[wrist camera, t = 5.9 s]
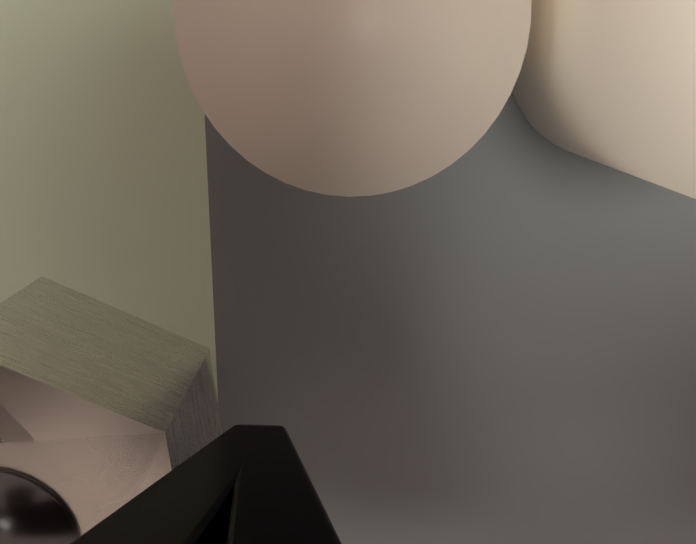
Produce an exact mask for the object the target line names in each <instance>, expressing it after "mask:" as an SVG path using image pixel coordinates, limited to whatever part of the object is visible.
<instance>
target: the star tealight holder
mask: <svg viewBox="0 0 696 544" xmlns="http://www.w3.org/2000/svg"><path fill="white" fill-rule="evenodd" d="M222 433H223V432H222V426H221V420H220V413H219V407H218V401H217V394H216V388H215V381H214V375H213V369H212V362H211V356H210V350H209V348H208V347H206V346H203V345H201V344H199V343H196V342H194V341H192V340H189V339H187V338H185V337H182V336H180V335H178V334H175V333H173V332H171V331H168V330H166V329H164V328H161V327H159V326H157V325H154V324H152V323H150V322H147V321H145V320H143V319H140V318H138V317H136V316H133V315H131V314H129V313H126V312H124V311H122V310H119V309H117V308H115V307H112V306H110V305H108V304H105V303H103V302H101V301H98V300H96V299H94V298H91V297H89V296H87V295H84V294H82V293H80V292H77V291H75V290H73V289H70V288H68V287H66V286H63V285H61V284H59V283H56V282H54V281H52V280H49V279H47V278H45V277H42V276H41V277H40V278H38V279H36V280H35V281H33V282H32V283H30V284H29V285H27V286H26V287H24V288H23V289H21V290H20V291H18V292H17V293H15V294H14V295H12V296H11V297H9V298H8V299H6V300H4V301H3V302H1V303H0V544H70V543H72V542H73V541H74V540H76V539H77V538H79V537H80V536H81V535H83V534H84V533H86V532H87V531H88V530H90V529H91V528H92V527H94V526H95V525H97V524H98V523H99V522H101V521H102V520H104V519H105V518H106V517H108V516H109V515H110V514H112V513H113V512H115V511H116V510H117V509H119V508H120V507H122V506H123V505H124V504H126V503H127V502H128V501H130V500H131V499H133V498H134V497H135V496H137V495H138V494H139V493H141V492H142V491H144V490H145V489H146V488H148V487H149V486H151V485H152V484H153V483H155V482H156V481H157V480H159V479H160V478H162V477H163V476H164V475H166V474H167V473H169V472H170V471H171V470H173V469H174V468H175V467H177V466H178V465H180V464H181V463H182V462H184V461H185V460H187V459H188V458H189V457H191V456H192V455H193V454H195V453H196V452H198V451H199V450H200V449H202V448H203V447H204V446H206V445H207V444H209V443H210V442H211V441H213V440H214V439H216V438H217V437H218V436H220V435H221V434H222Z"/></svg>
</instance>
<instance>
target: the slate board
mask: <svg viewBox="0 0 696 544" xmlns="http://www.w3.org/2000/svg"><path fill="white" fill-rule="evenodd" d="M41 276H42V277H45V278H47V279H49V280H52V281H54V282H56V283H59V284H61V285H63V286H66V287H68V288H70V289H73V290H75V291H77V292H80V293H82V294H84V295H87V296H89V297H91V298H94V299H96V300H98V301H101V302H103V303H105V304H108V305H110V306H112V307H115V308H117V309H119V310H122V311H124V312H126V313H129V314H131V315H133V316H136V317H138V318H140V319H143V320H145V321H147V322H150V323H152V324H154V325H157V326H159V327H161V328H164V329H166V330H168V331H171V332H173V333H175V334H178V335H180V336H182V337H185V338H187V339H189V340H192V341H194V342H196V343H199V344H201V345H203V346H206V347H208V348H209V350H210V356H211V362H212V369H213V375H214V381H215V388H216V394H217V401H218V407H219V413H220V420H221V426H222V432H223V433H224V432H225V431H227V430H228V429H229V428H231V427H232V426H234V425H237V424H246V425H281V426H283V427H285V429H286V430H287V432H288V434H289V436H290V438H291V440H292V442H293V445H294V447H295V449H296V451H297V453H298V455H299V457H300V459H301V461H302V463H303V465H304V467H305V469H306V471H307V473H308V475H309V477H310V479H311V482H312V484H313V486H314V488H315V490H316V492H317V494H318V496H319V498H320V500H321V502H322V504H323V506H324V508H325V510H326V512H327V514H328V516H329V519H330V521H331V523H332V525H333V527H334V529H335V531H336V533H337V535H338V537H339V539H340V541H341V543H342V544H696V199H695V198H691V197H689V196H686V195H683V194H681V193H678V192H675V191H673V190H670V189H667V188H665V187H662V186H659V185H657V184H654V183H651V182H649V181H646V180H643V179H641V178H638V177H635V176H633V175H630V174H627V173H625V172H622V171H619V170H617V169H614V168H611V167H609V166H606V165H603V164H601V163H598V162H596V161H593V160H590V159H588V158H585V157H582V156H580V155H577V154H574V153H572V152H569V151H566V150H564V149H562V148H560V147H558V146H556V145H554V144H553V143H551V142H550V141H548V140H547V139H546V138H544V137H543V136H542V135H540V134H539V133H538V132H537V131H536V130H535V129H534V128H533V127H532V126H531V125H530V123H529V122H528V121H527V119H526V118H525V117H524V115H523V114H522V112H521V110H520V109H519V107H518V105H517V103H516V101H515V99H514V96H513V94H512V92H511V95H510V96H509V98H508V100H507V102H506V103H505V105H504V107H503V109H502V110H501V112H500V114H499V115H498V117H497V118H496V119H495V121H494V122H493V123H492V125H491V126H490V127H489V129H488V130H487V132H486V133H485V134H484V135H483V136H482V137H481V138H480V139H479V140H478V141H477V142H476V143H475V145H474V146H473V147H472V148H471V149H470V150H469V151H467V152H466V153H465V154H464V155H463V156H461V157H460V158H459V159H458V160H456V161H455V162H454V163H453V164H451V165H450V166H448V167H447V168H445V169H444V170H442V171H440V172H439V173H437V174H435V175H434V176H432V177H430V178H428V179H426V180H424V181H421V182H419V183H417V184H415V185H413V186H410V187H406V188H403V189H400V190H397V191H394V192H389V193H384V194H378V195H372V196H357V197H344V196H333V195H325V194H320V193H315V192H311V191H306V190H303V189H300V188H298V187H295V186H292V185H289V184H286V183H284V182H282V181H280V180H278V179H276V178H274V177H272V176H270V175H268V174H266V173H265V172H263V171H262V170H260V169H259V168H257V167H256V166H254V165H253V164H252V163H250V162H249V161H247V160H246V159H245V158H244V157H243V156H241V155H240V154H239V153H238V152H237V151H236V150H235V149H234V148H232V147H231V146H230V145H229V144H228V143H227V141H226V140H225V139H224V138H223V137H222V136H221V135H220V134H219V132H218V131H217V130H216V129H215V128H214V126H213V125H212V123H211V122H210V120H209V119H208V118H207V116H206V115H205V113H204V112H203V110H202V109H201V107H200V105H199V103H198V101H197V99H196V97H195V95H194V93H193V91H192V90H191V87H190V85H189V82H188V79H187V77H186V74H185V72H184V69H183V66H182V63H181V58H180V54H179V50H178V46H177V42H176V34H175V26H174V18H173V0H0V303H1V302H3V301H4V300H6V299H8V298H9V297H11V296H12V295H14V294H15V293H17V292H18V291H20V290H21V289H23V288H24V287H26V286H27V285H29V284H30V283H32V282H33V281H35V280H36V279H38V278H40V277H41Z"/></svg>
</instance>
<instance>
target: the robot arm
mask: <svg viewBox="0 0 696 544" xmlns="http://www.w3.org/2000/svg"><path fill="white" fill-rule="evenodd" d="M70 544H342V543H341V541H340V539H339V537H338V535H337V533H336V531H335V529H334V527H333V525H332V523H331V521H330V519H329V516H328V514H327V512H326V510H325V508H324V506H323V504H322V502H321V500H320V498H319V496H318V494H317V492H316V490H315V488H314V486H313V484H312V482H311V479H310V477H309V475H308V473H307V471H306V469H305V467H304V465H303V463H302V461H301V459H300V457H299V455H298V453H297V451H296V449H295V447H294V445H293V442H292V440H291V438H290V436H289V434H288V432H287V430H286V429H285V427H283V426H281V425H246V424H237V425H234V426H232V427H231V428H229V429H228V430H227V431H225V432H224V433H222V434H221V435H220V436H218V437H217V438H216V439H214V440H213V441H211V442H210V443H209V444H207V445H206V446H204V447H203V448H202V449H200V450H199V451H198V452H196V453H195V454H193V455H192V456H191V457H189V458H188V459H187V460H185V461H184V462H182V463H181V464H180V465H178V466H177V467H175V468H174V469H173V470H171V471H170V472H169V473H167V474H166V475H164V476H163V477H162V478H160V479H159V480H157V481H156V482H155V483H153V484H152V485H151V486H149V487H148V488H146V489H145V490H144V491H142V492H141V493H139V494H138V495H137V496H135V497H134V498H133V499H131V500H130V501H128V502H127V503H126V504H124V505H123V506H122V507H120V508H119V509H117V510H116V511H115V512H113V513H112V514H110V515H109V516H108V517H106V518H105V519H104V520H102V521H101V522H99V523H98V524H97V525H95V526H94V527H92V528H91V529H90V530H88V531H87V532H86V533H84V534H83V535H81V536H80V537H79V538H77V539H76V540H74V541H73V542H72V543H70Z"/></svg>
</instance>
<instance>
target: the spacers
mask: <svg viewBox="0 0 696 544" xmlns="http://www.w3.org/2000/svg"><path fill="white" fill-rule="evenodd" d="M173 18H174V26H175V34H176V42H177V46H178V50H179V54H180V58H181V63H182V66H183V69H184V72H185V74H186V77H187V79H188V82H189V85H190V87H191V90H192V91H193V93H194V95H195V97H196V99H197V101H198V103H199V105H200V107H201V109H202V110H203V112H204V113H205V115H206V116H207V118H208V119H209V120H210V122H211V123H212V125H213V126H214V128H215V129H216V130H217V131H218V132H219V134H220V135H221V136H222V137H223V138H224V139H225V140H226V141H227V143H228V144H229V145H230V146H231V147H232V148H234V149H235V150H236V151H237V152H238V153H239V154H240V155H241V156H243V157H244V158H245V159H246V160H247V161H249V162H250V163H252V164H253V165H254V166H256V167H257V168H259V169H260V170H262V171H263V172H265V173H266V174H268V175H270V176H272V177H274V178H276V179H278V180H280V181H282V182H284V183H286V184H289V185H292V186H295V187H298V188H300V189H303V190H306V191H311V192H315V193H320V194H325V195H333V196H344V197H357V196H372V195H378V194H384V193H389V192H394V191H397V190H400V189H403V188H406V187H410V186H413V185H415V184H417V183H419V182H421V181H424V180H426V179H428V178H430V177H432V176H434V175H435V174H437V173H439V172H440V171H442V170H444V169H445V168H447V167H448V166H450V165H451V164H453V163H454V162H455V161H456V160H458V159H459V158H460V157H461V156H463V155H464V154H465V153H466V152H467V151H469V150H470V149H471V148H472V147H473V146H474V145H475V143H476V142H477V141H478V140H479V139H480V138H481V137H482V136H483V135H484V134H485V133H486V132H487V130H488V129H489V127H490V126H491V125H492V123H493V122H494V121H495V119H496V118H497V117H498V115H499V114H500V112H501V110H502V109H503V107H504V105H505V103H506V102H507V100H508V98H509V96H510V95H511V92H512V94H513V96H514V99H515V101H516V103H517V105H518V107H519V109H520V110H521V112H522V114H523V115H524V117H525V118H526V119H527V121H528V122H529V123H530V125H531V126H532V127H533V128H534V129H535V130H536V131H537V132H538V133H539V134H540V135H542V136H543V137H544V138H546V139H547V140H548V141H550V142H551V143H553V144H554V145H556V146H558V147H560V148H562V149H564V150H566V151H569V152H572V153H574V154H577V155H580V156H582V157H585V158H588V159H590V160H593V161H596V162H598V163H601V164H603V165H606V166H609V167H611V168H614V169H617V170H619V171H622V172H625V173H627V174H630V175H633V176H635V177H638V178H641V179H643V180H646V181H649V182H651V183H654V184H657V185H659V186H662V187H665V188H667V189H670V190H673V191H675V192H678V193H681V194H683V195H686V196H689V197H691V198H695V199H696V0H173Z"/></svg>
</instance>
